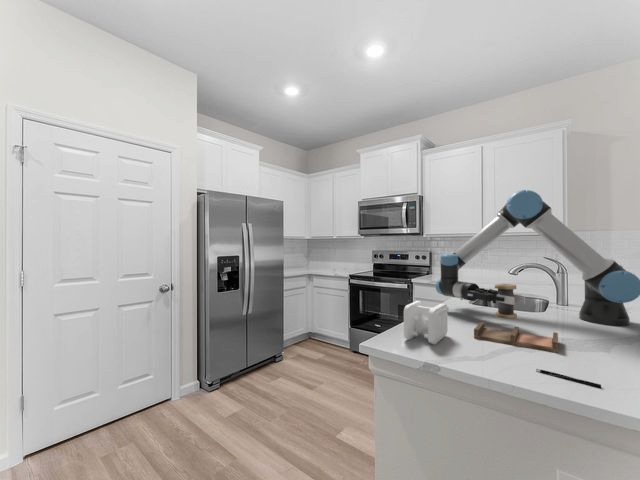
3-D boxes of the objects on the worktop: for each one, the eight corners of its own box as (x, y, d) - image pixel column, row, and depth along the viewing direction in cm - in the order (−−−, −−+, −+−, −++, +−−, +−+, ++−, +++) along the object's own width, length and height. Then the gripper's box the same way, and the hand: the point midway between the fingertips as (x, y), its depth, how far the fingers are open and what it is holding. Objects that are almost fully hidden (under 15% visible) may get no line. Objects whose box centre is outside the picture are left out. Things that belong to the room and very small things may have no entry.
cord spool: (517, 315, 116) (517, 284, 116) (515, 319, 111) (515, 286, 111) (496, 313, 120) (496, 283, 121) (493, 317, 115) (493, 285, 115)
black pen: (535, 372, 78) (535, 368, 78) (536, 371, 78) (536, 367, 78) (600, 389, 69) (600, 385, 69) (601, 388, 69) (601, 384, 69)
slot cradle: (557, 342, 100) (557, 332, 100) (557, 352, 90) (557, 342, 90) (481, 329, 114) (481, 321, 114) (474, 338, 104) (473, 329, 104)
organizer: (419, 330, 113) (419, 299, 113) (449, 336, 107) (449, 302, 107) (403, 341, 102) (402, 306, 102) (435, 348, 95) (435, 310, 95)
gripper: (482, 298, 136) (535, 308, 114) (451, 301, 129) (502, 313, 107) (481, 281, 136) (535, 288, 114) (450, 283, 129) (501, 291, 107)
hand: (519, 300), depth 111 cm, fingers closed on cord spool, 5 cm apart
